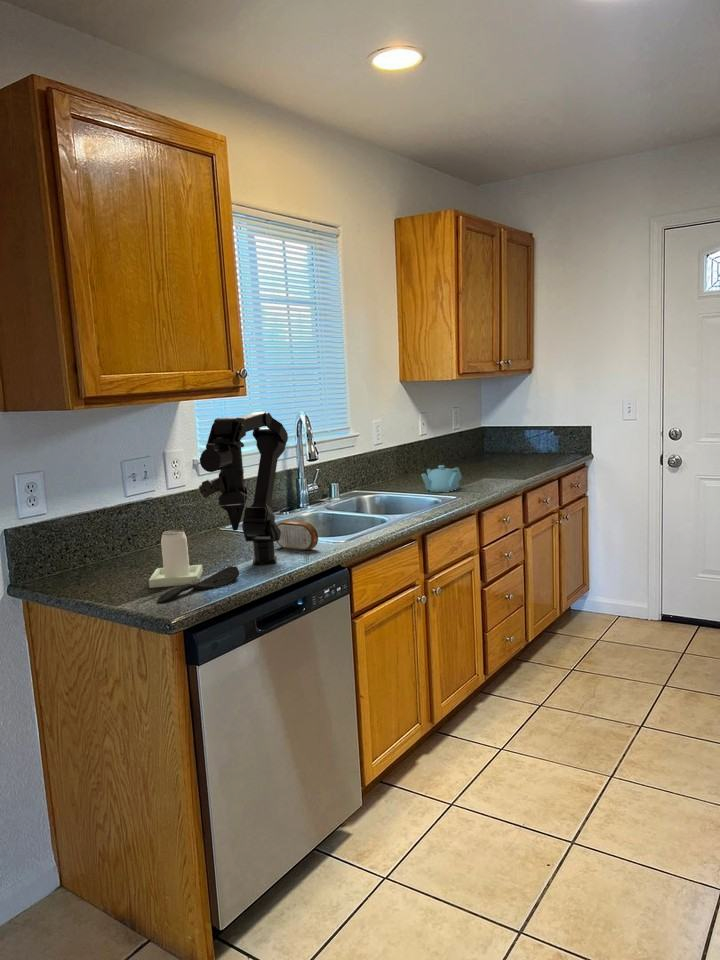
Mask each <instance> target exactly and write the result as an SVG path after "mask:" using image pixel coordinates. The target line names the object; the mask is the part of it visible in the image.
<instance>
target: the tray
mask: <svg viewBox="0 0 720 960" xmlns="http://www.w3.org/2000/svg"><path fill="white" fill-rule="evenodd" d="M189 568H190V575H189V576H181V577H169V578H165V576H164V567H158V568H156V569H155V570H154V572H153V573H152V574H151V576H150V578H149V579H148V587H149V589H152V588H164V587H176V586H178V587H179V586H183V585H186V584H193V583H194V582H195V583H199V582H200V581H201V579H200V578H202V575H203V571H204V570H203V569H204V568H203V564H195V565H189ZM198 578H199V579H198ZM194 580H196V581H194ZM198 580H199V581H198ZM192 581H193V582H192ZM197 581H198V582H197ZM195 583H194V584H195Z"/></svg>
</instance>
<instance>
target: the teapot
mask: <svg viewBox="0 0 720 960" xmlns="http://www.w3.org/2000/svg"><path fill="white" fill-rule="evenodd" d="M437 467H438V468H434V469H431V468H427V469H426V472H427V473H421V478H422V480H423V483H424V485H425V488H426V490H427V491H428V490H430V491H450V490H455V489H457V490H458V489H459V487H460V483H459V482H460V481H461V480H462V478H463V476H462V473H461V471H460V469H459V467H454V468H447V467H446V466H445V465H444V464H442V465H438V466H437ZM445 467H446V468H445Z"/></svg>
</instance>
